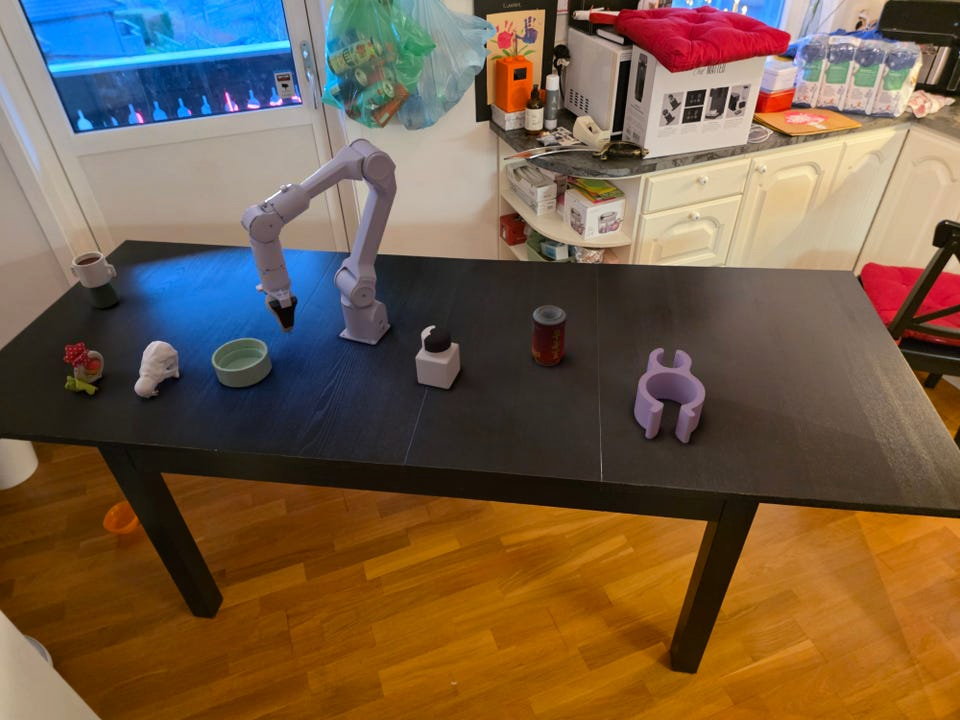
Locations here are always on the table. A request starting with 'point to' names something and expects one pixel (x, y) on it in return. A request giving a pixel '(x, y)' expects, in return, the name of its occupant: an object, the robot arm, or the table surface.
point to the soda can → (548, 334)
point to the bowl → (242, 362)
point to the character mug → (96, 278)
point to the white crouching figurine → (156, 367)
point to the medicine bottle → (437, 358)
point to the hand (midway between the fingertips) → (284, 318)
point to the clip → (669, 394)
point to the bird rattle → (83, 367)
